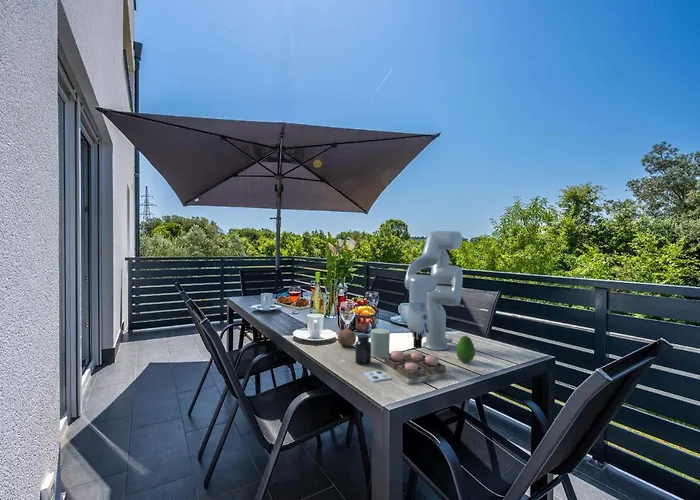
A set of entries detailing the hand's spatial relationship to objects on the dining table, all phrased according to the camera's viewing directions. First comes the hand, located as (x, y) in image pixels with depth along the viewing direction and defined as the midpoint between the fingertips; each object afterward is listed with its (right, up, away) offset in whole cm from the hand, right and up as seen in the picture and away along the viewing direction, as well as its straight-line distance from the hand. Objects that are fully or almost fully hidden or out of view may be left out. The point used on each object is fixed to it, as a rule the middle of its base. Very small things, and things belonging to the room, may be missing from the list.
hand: (417, 347), depth 148 cm
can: (-16, -7, +12) cm, 21 cm away
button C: (-10, -4, -5) cm, 11 cm away
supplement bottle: (-24, -8, +2) cm, 25 cm away
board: (-3, -8, -7) cm, 11 cm away
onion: (-31, -7, +25) cm, 40 cm away
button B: (+4, -4, -10) cm, 11 cm away
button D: (-5, -6, -14) cm, 16 cm away
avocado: (+22, -8, +5) cm, 24 cm away
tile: (-19, -8, -14) cm, 24 cm away
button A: (-1, -5, -1) cm, 5 cm away
